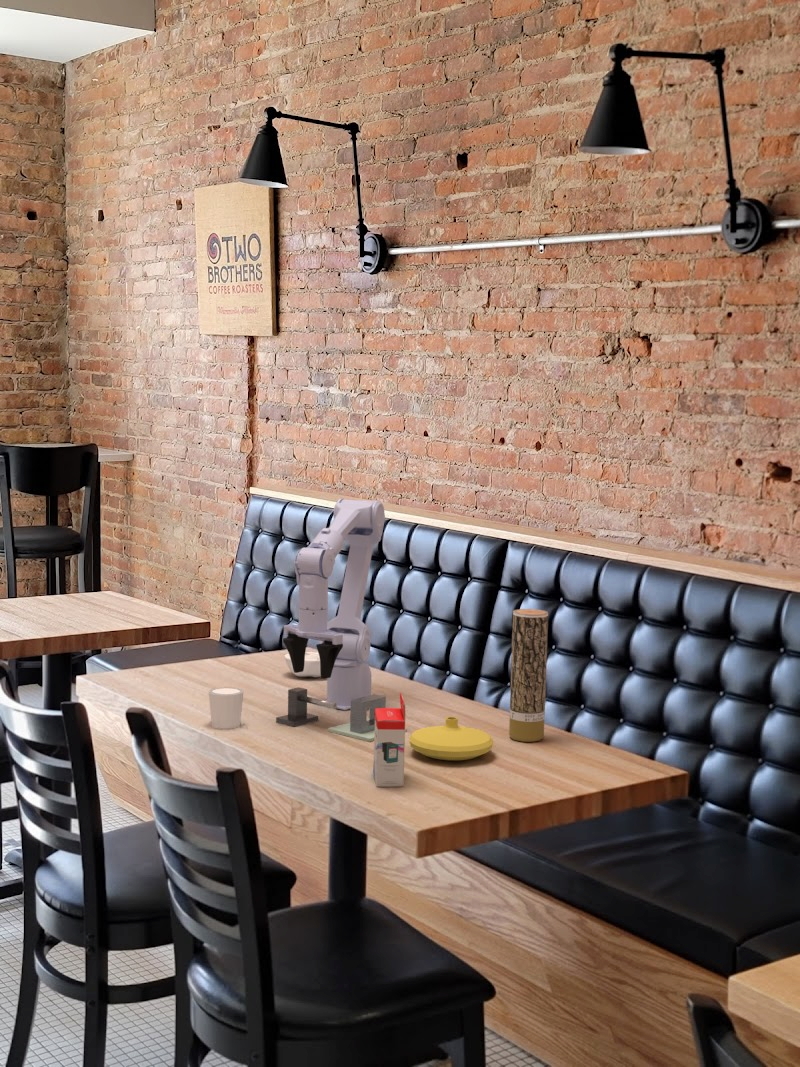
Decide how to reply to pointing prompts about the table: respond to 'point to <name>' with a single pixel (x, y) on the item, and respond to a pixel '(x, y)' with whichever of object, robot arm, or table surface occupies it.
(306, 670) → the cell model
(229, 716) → the white cup
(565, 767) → the table surface
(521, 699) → the paper tube
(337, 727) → the coaster
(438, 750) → the vase
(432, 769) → the table surface
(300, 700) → the post
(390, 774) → the ink box
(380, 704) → the grey hollow frame block
